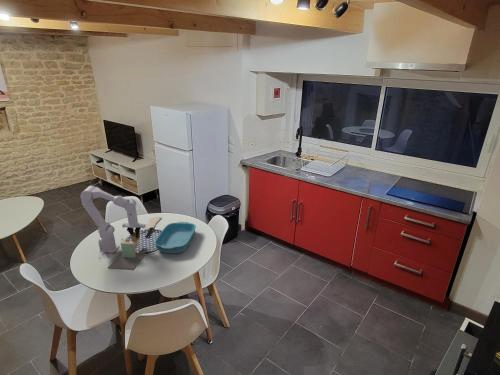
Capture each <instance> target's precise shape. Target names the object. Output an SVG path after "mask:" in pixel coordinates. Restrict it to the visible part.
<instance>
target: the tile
mask: <svg viewBox="0 0 500 375" xmlns="http://www.w3.org/2000/svg"><path fill="white" fill-rule="evenodd" d="M131 242H132V241H126V242H125V241H121V242H120V249H121V251H122V255H123V257H129V258H135V257H136V252H137V251H136V249H135V245H134V243H131Z"/></svg>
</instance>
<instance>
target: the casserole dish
mask: <svg viewBox="0 0 500 375" xmlns="http://www.w3.org/2000/svg"><path fill="white" fill-rule="evenodd" d="M196 227H197V225H196V224H194V223H193V222H192V223H190V222H188V221H177V222H171V223H168V224H167V225H165V227H164V228H163V229H162V230H161V232H160V233H159V234H158V236H157V237H156V238H155V240H154V245H155V247H156V249H157V250H158V251H159V252H160V253H164V254H165V253H166V254H180V253H183V252H184V251H186V249H187V248H188V246H189V245H190V243H191V241H192V239H193V237H194V235H195V231H196ZM163 244H164V245H163ZM162 245H163V246H162Z"/></svg>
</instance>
